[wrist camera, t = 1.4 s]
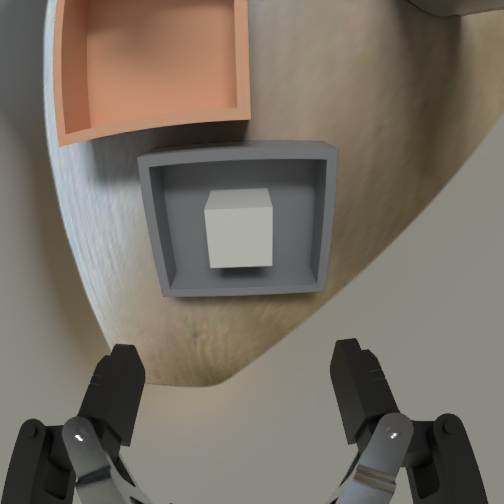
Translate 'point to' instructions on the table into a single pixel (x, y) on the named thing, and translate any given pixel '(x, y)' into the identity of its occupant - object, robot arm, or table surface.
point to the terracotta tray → (148, 65)
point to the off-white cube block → (239, 227)
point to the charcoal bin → (240, 177)
